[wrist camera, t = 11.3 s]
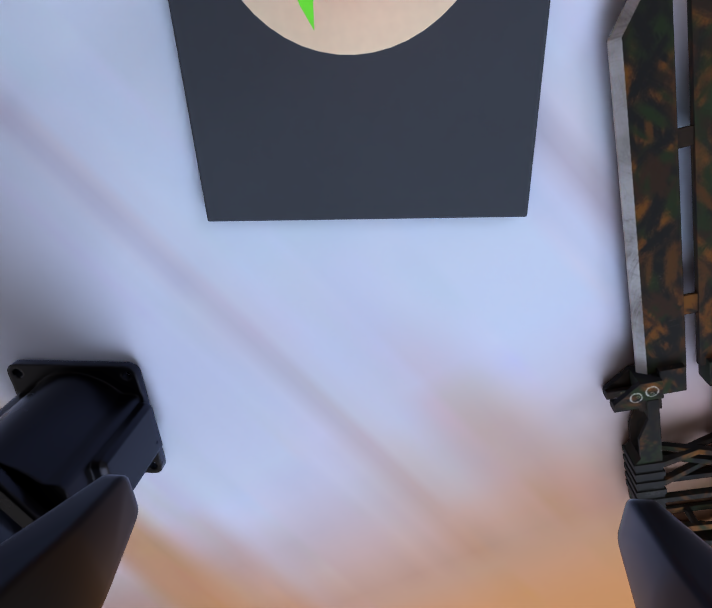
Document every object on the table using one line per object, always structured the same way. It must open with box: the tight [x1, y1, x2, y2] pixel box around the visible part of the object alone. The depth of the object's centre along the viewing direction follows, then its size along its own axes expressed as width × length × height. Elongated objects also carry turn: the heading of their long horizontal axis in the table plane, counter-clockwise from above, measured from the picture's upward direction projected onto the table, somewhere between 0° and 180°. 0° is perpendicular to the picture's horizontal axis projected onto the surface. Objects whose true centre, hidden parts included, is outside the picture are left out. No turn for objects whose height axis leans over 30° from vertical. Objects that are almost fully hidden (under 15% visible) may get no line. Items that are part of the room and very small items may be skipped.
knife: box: [603, 0, 712, 548], centre depth 19 cm, size 25×6×1 cm, turn 12°
